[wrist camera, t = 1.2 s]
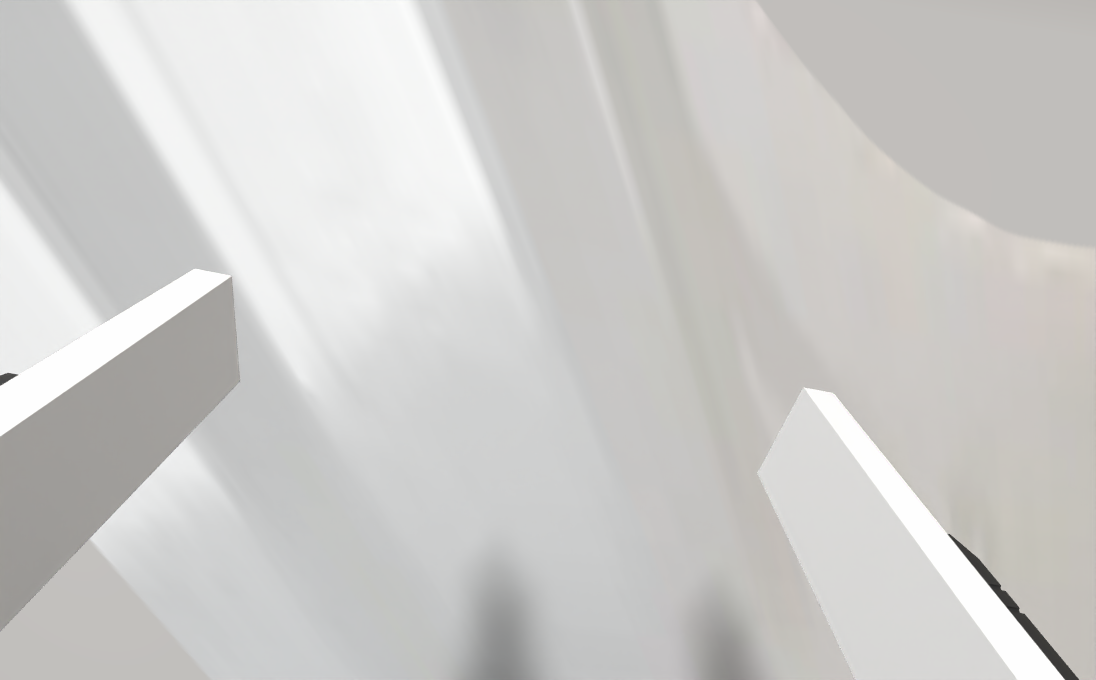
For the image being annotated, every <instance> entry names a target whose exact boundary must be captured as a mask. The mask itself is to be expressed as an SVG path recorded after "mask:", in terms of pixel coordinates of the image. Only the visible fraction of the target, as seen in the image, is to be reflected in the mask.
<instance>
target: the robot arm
mask: <svg viewBox="0 0 1096 680" xmlns="http://www.w3.org/2000/svg"><path fill="white" fill-rule="evenodd" d="M239 382H240V374H239V361H238V348H237V336H236V323H235V311H234V298H233V286H232V276H229V275H224V274H219V273H214V272H209V271H204V270H198V269H194V270H192V271H190V272H189V273H187V274H185V275H184V276H182V277H180V278H179V279H177V280H175V281H174V282H172V283H170V284H169V285H167V286H165V287H164V288H162V289H160V290H159V291H157V292H155V293H154V294H152V295H150V296H149V297H147V298H145V299H144V300H142V301H141V302H139V303H137V304H136V305H134V306H132V307H131V308H129V309H127V310H126V311H124V312H122V313H121V314H119V315H117V316H116V317H114V318H112V319H111V320H109V321H107V322H106V323H104V324H102V325H101V326H99V327H97V328H96V329H94V330H92V331H91V332H89V333H87V334H86V335H84V336H82V337H81V338H79V339H77V340H76V341H74V342H72V343H71V344H69V345H67V346H66V347H64V348H62V349H61V350H59V351H58V352H56V353H54V354H53V355H51V356H49V357H48V358H46V359H44V360H43V361H41V362H39V363H38V364H36V365H34V366H33V367H31V368H29V369H28V370H26V371H24V372H23V373H21V374H19V375H17V374H11V373H7V374H4V375H1V376H0V631H1V630H2V629H3V628H4V627H5V626H6V625H7V624H8V623H9V622H10V621H11V620H12V619H13V618H14V617H15V616H16V615H17V614H18V612H19V611H20V610H21V609H22V608H23V607H24V606H25V605H26V604H27V603H28V602H29V601H30V600H31V599H32V598H33V597H34V596H35V595H36V594H37V593H38V592H39V591H40V590H41V588H42V587H43V586H44V585H45V584H46V583H47V582H48V581H49V580H50V579H51V578H52V577H53V576H54V575H55V574H56V573H57V572H58V570H60V569H61V568H62V566H64V565H65V563H66V562H67V561H68V560H69V559H70V558H71V557H72V556H73V555H74V554H75V553H76V552H77V551H78V550H79V549H80V548H81V547H82V546H83V545H84V544H85V542H87V541H88V539H89V538H90V537H91V536H92V535H93V534H94V533H95V532H96V531H97V530H98V529H99V528H100V527H101V526H102V525H103V524H104V523H105V522H106V521H107V520H108V519H109V518H110V517H111V515H112V514H113V513H114V512H115V511H116V510H117V509H118V508H119V507H120V506H121V505H122V504H123V503H124V502H125V501H126V500H127V499H128V498H129V497H130V496H131V495H132V494H133V493H134V491H135V490H136V489H137V488H138V487H139V486H140V485H141V484H142V483H143V482H144V481H145V480H146V479H147V478H148V477H149V476H150V475H151V474H152V473H153V472H154V471H155V470H156V468H157V467H158V466H159V465H160V464H161V463H162V462H163V461H164V460H165V459H166V458H167V457H168V456H169V455H170V454H171V453H172V452H173V451H174V450H175V449H176V448H177V447H178V446H179V444H180V443H181V442H182V441H183V440H184V439H185V438H186V437H187V436H188V435H189V434H190V433H191V432H192V431H193V430H194V429H195V428H196V427H197V426H198V425H199V424H200V423H201V422H202V420H203V419H204V418H205V417H206V416H207V415H208V414H209V413H210V412H211V411H212V410H213V409H214V408H215V407H216V406H217V405H218V404H219V403H220V402H221V401H222V400H223V399H224V398H225V396H226V395H227V394H228V393H229V392H230V391H231V390H232V389H233V388H234V387H235V386H236V385H237V384H238V383H239ZM757 474H758V476H759V478H760V480H761V482H762V484H763V487H764V489H765V491H766V493H767V495H768V497H769V499H770V501H771V503H772V505H773V508H774V510H775V512H776V514H777V516H778V518H779V520H780V522H781V524H782V527H783V529H784V531H785V533H786V535H787V537H788V539H789V541H790V543H791V546H792V548H793V550H794V552H795V554H796V556H797V558H798V560H799V562H800V565H801V567H802V569H803V571H804V573H805V575H806V577H807V579H808V581H809V584H810V586H811V588H812V590H813V592H814V594H815V596H816V598H817V600H818V603H819V605H820V607H821V609H822V611H823V613H824V615H825V617H826V619H827V621H828V624H829V626H830V628H831V630H832V632H833V634H834V636H835V638H836V640H837V643H838V645H839V647H840V649H841V651H842V653H843V655H844V657H845V659H846V662H847V664H848V666H849V668H850V670H851V672H852V674H853V676H854V678H855V680H1079V679H1078V678H1077V677H1076V675H1075V674H1074V673H1073V672H1072V671H1071V669H1070V668H1069V667H1068V666H1067V665H1066V663H1065V662H1064V661H1063V660H1062V659H1061V657H1060V656H1059V655H1058V654H1057V652H1056V651H1055V650H1054V649H1053V648H1052V646H1051V645H1050V644H1049V643H1048V642H1047V640H1046V639H1045V638H1044V637H1043V636H1042V634H1041V633H1040V632H1039V631H1038V630H1037V628H1036V627H1035V626H1034V625H1033V624H1032V622H1031V621H1030V620H1029V619H1028V618H1027V616H1026V615H1025V614H1022V613H1020V612H1019V607H1018V606H1017V604H1016V603H1015V602H1014V601H1013V599H1012V598H1011V597H1010V596H1009V595H1008V593H1007V592H1006V591H1002V590H1001V588H1000V587H1001V585H1000V584H999V583H998V581H997V580H996V579H995V578H994V577H993V575H992V574H991V573H990V572H989V571H988V569H987V568H986V567H985V566H984V565H983V563H982V562H981V561H980V560H979V559H978V558H977V557H976V556H975V555H974V554H972V553H971V552H970V551H969V550H968V549H967V548H965V547H964V546H963V545H962V544H961V543H960V542H958V541H957V540H956V539H955V538H954V537H952V536H951V535H950V534H947V533H946V532H945V531H944V530H943V528H942V527H941V526H940V525H939V523H938V522H937V521H936V520H935V518H934V517H933V516H932V515H931V513H930V512H929V511H928V510H927V508H926V507H925V506H924V505H923V504H922V502H921V501H920V500H919V499H918V497H917V496H916V495H915V494H914V492H913V491H912V490H911V489H910V487H909V486H908V485H907V484H906V482H905V481H904V480H903V479H902V477H901V476H900V475H899V474H898V473H897V471H896V470H895V469H894V468H893V466H892V465H891V464H890V463H889V461H888V460H887V459H886V458H885V456H884V455H883V454H882V453H881V451H880V450H879V449H878V448H877V447H876V445H875V444H874V443H873V442H872V440H871V439H870V438H869V437H868V435H867V434H866V433H865V432H864V430H863V429H862V428H861V427H860V425H859V424H858V423H857V422H856V421H855V419H854V418H853V417H852V416H851V414H850V413H849V412H848V411H847V409H846V408H845V407H844V406H843V404H842V403H841V402H840V401H839V399H838V398H837V397H836V396H835V395H834V393H830V392H824V391H819V390H814V389H809V388H804V387H803V389H802V391H801V393H800V395H799V396H798V398H797V400H796V402H795V404H794V406H793V408H792V410H791V411H790V413H789V415H788V417H787V419H786V421H785V423H784V424H783V426H782V428H781V430H780V432H779V434H778V436H777V438H776V439H775V441H774V443H773V445H772V447H771V449H770V451H769V453H768V454H767V456H766V458H765V460H764V462H763V464H762V466H761V467H760V469H759V471H758V473H757Z"/></svg>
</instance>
